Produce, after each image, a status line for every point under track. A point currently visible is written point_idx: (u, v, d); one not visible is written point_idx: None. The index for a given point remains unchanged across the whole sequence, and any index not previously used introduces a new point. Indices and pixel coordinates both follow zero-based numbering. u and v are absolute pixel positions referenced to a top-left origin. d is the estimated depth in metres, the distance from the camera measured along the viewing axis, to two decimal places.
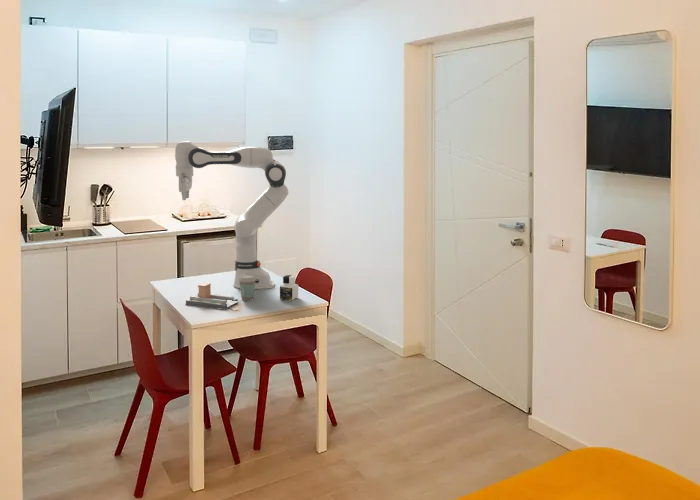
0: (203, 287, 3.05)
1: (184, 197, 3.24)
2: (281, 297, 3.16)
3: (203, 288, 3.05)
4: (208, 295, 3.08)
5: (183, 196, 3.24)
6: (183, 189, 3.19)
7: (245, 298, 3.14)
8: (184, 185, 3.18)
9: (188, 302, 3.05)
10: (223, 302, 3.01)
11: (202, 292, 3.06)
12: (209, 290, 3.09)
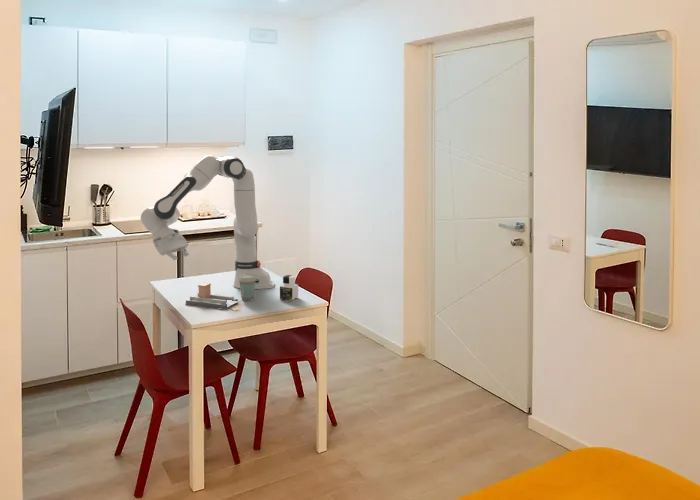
0: (203, 287, 3.05)
1: (173, 257, 3.04)
2: (281, 297, 3.16)
3: (203, 288, 3.05)
4: (208, 295, 3.08)
5: (172, 256, 3.04)
6: (162, 251, 3.00)
7: (245, 298, 3.14)
8: (160, 247, 3.00)
9: (188, 302, 3.05)
10: (223, 302, 3.01)
11: (202, 292, 3.06)
12: (209, 290, 3.09)
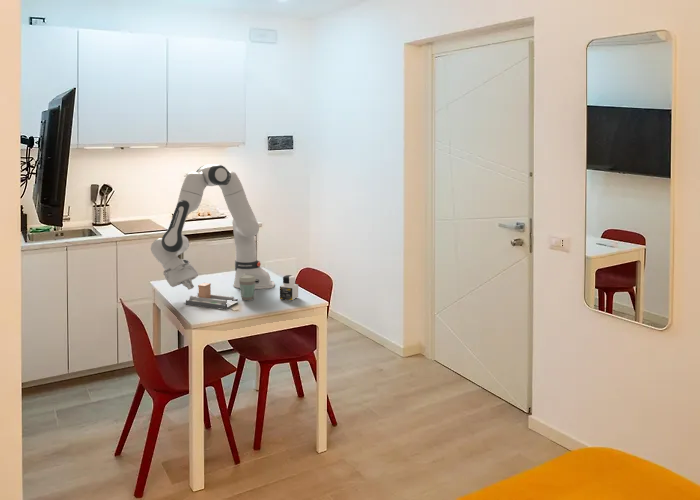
0: (203, 287, 3.05)
1: (188, 286, 3.09)
2: (281, 297, 3.16)
3: (203, 288, 3.05)
4: (208, 295, 3.08)
5: (187, 286, 3.09)
6: (172, 282, 3.01)
7: (245, 298, 3.14)
8: (171, 278, 3.02)
9: (188, 302, 3.05)
10: (223, 302, 3.01)
11: (202, 292, 3.06)
12: (209, 290, 3.09)
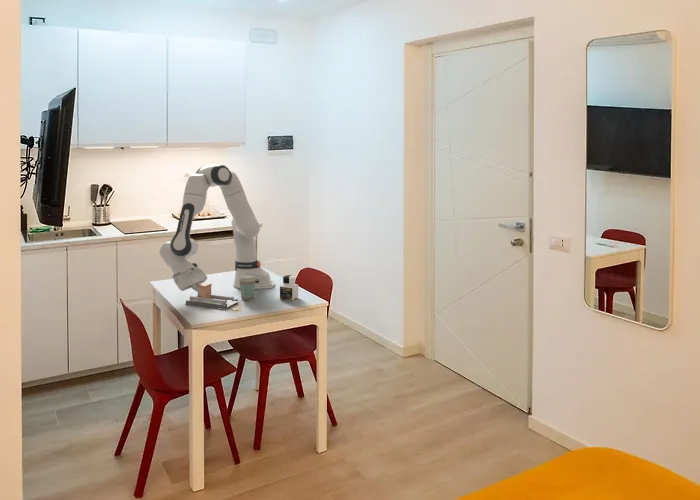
0: (204, 287, 3.05)
1: (197, 290, 3.08)
2: (281, 297, 3.16)
3: (204, 288, 3.05)
4: (209, 295, 3.08)
5: (196, 289, 3.08)
6: (182, 286, 3.00)
7: (245, 298, 3.14)
8: (180, 282, 3.00)
9: (188, 302, 3.05)
10: (223, 302, 3.01)
11: (203, 292, 3.06)
12: (210, 290, 3.09)
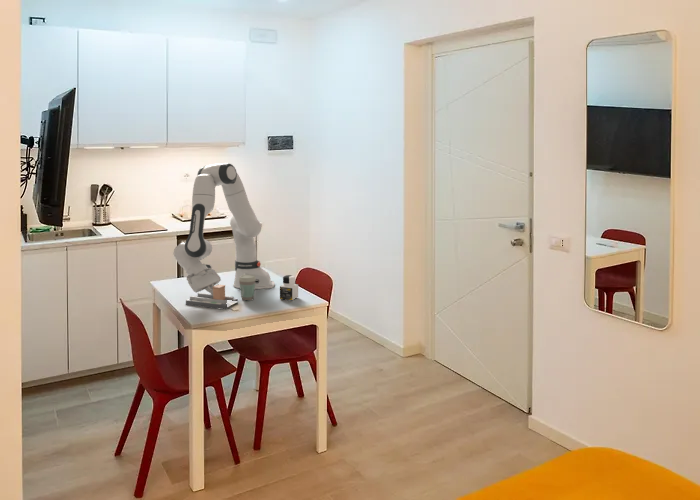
0: (218, 289, 3.02)
1: (211, 291, 3.05)
2: (281, 297, 3.16)
3: (218, 289, 3.02)
4: (223, 297, 3.06)
5: (210, 291, 3.05)
6: (196, 288, 2.97)
7: (245, 298, 3.14)
8: (194, 284, 2.98)
9: (188, 302, 3.05)
10: (223, 302, 3.01)
11: (217, 294, 3.03)
12: (224, 292, 3.06)
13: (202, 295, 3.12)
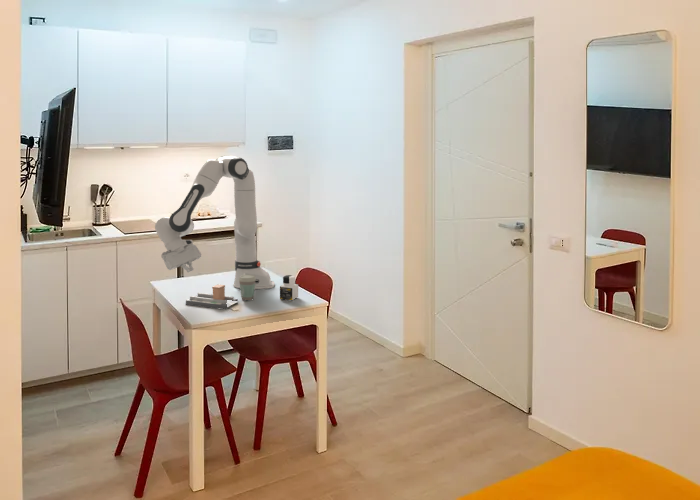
0: (217, 289, 3.02)
1: (187, 269, 3.08)
2: (281, 297, 3.16)
3: (218, 289, 3.02)
4: (222, 296, 3.06)
5: (185, 268, 3.08)
6: (169, 266, 3.01)
7: (245, 298, 3.14)
8: (167, 262, 3.01)
9: (188, 302, 3.05)
10: (223, 302, 3.01)
11: (216, 294, 3.03)
12: (223, 292, 3.06)
13: (202, 295, 3.12)
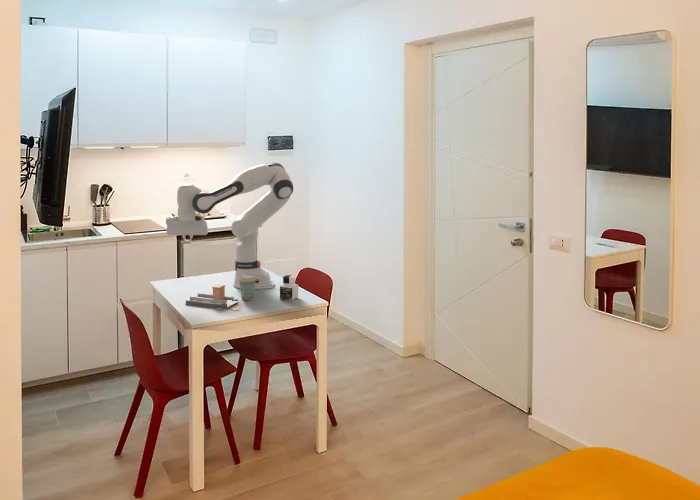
0: (217, 289, 3.02)
1: None
2: (281, 297, 3.16)
3: (218, 289, 3.02)
4: (222, 296, 3.06)
5: None
6: None
7: (245, 298, 3.14)
8: None
9: (188, 302, 3.05)
10: (223, 302, 3.01)
11: (216, 294, 3.03)
12: (223, 292, 3.06)
13: (202, 295, 3.12)
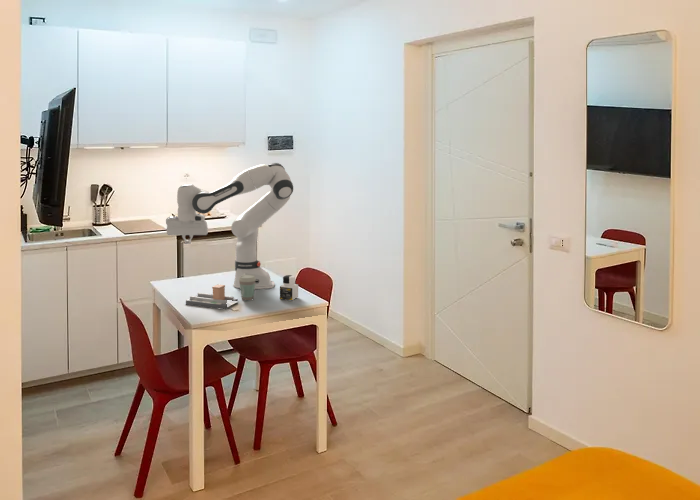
0: (217, 289, 3.02)
1: None
2: (281, 297, 3.16)
3: (218, 289, 3.02)
4: (222, 296, 3.06)
5: None
6: None
7: (245, 298, 3.14)
8: None
9: (188, 302, 3.05)
10: (223, 302, 3.01)
11: (216, 294, 3.03)
12: (223, 292, 3.06)
13: (202, 295, 3.12)
